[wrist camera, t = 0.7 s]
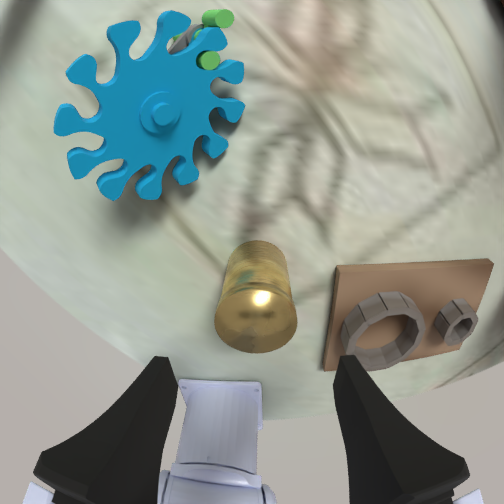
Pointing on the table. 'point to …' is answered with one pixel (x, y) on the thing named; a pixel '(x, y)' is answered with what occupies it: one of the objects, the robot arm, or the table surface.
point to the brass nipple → (256, 300)
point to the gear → (154, 103)
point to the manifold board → (403, 310)
